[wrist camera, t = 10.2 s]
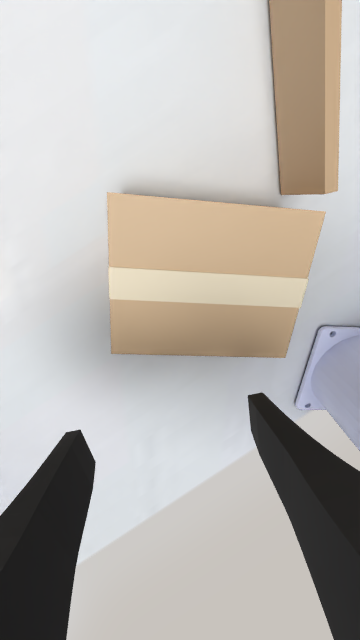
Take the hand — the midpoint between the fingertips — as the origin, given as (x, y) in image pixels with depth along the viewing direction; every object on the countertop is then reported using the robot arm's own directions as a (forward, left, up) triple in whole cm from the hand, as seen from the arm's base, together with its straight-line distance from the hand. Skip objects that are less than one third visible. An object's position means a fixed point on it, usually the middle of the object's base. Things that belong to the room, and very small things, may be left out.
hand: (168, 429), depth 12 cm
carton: (-2, -5, -9) cm, 11 cm away
